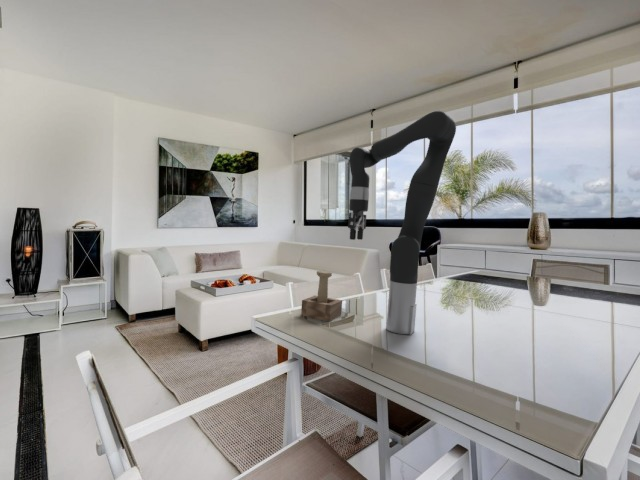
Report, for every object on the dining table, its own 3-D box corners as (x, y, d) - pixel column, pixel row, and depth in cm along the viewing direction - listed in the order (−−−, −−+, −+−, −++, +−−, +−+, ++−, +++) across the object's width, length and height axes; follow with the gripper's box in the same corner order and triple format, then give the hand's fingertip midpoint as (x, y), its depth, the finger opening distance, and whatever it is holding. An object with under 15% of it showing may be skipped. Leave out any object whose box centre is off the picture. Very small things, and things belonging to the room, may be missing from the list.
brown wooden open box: (341, 315, 131) (342, 300, 131) (329, 321, 121) (330, 305, 121) (314, 310, 136) (315, 295, 136) (301, 315, 127) (302, 300, 126)
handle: (321, 313, 125) (324, 273, 124) (311, 308, 130) (314, 270, 129) (331, 311, 127) (334, 273, 127) (321, 307, 133) (324, 270, 132)
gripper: (362, 197, 125) (359, 240, 126) (373, 201, 138) (370, 240, 139) (343, 197, 128) (340, 238, 129) (356, 200, 141) (353, 238, 142)
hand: (356, 239), depth 134 cm, fingers open, 8 cm apart
